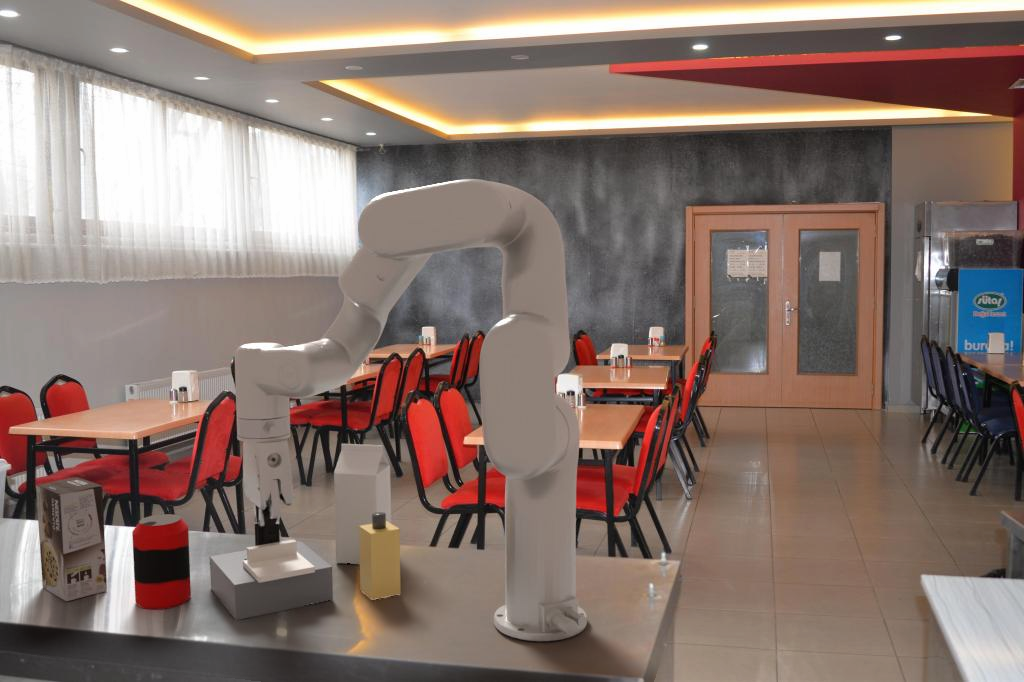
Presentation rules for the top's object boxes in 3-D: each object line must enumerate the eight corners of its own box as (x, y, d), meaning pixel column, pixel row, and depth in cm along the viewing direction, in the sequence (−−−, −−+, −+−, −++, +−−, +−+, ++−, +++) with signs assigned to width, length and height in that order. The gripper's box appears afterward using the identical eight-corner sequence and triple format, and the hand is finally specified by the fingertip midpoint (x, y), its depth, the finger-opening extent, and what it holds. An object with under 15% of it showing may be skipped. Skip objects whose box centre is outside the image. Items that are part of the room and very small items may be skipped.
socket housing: (332, 600, 136) (332, 566, 136) (235, 620, 129) (234, 584, 129) (301, 571, 148) (300, 541, 148) (210, 588, 141) (209, 556, 141)
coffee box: (109, 591, 140) (104, 485, 139) (65, 603, 136) (59, 493, 134) (83, 576, 147) (78, 475, 145) (40, 587, 142) (34, 483, 140)
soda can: (123, 606, 135) (119, 524, 133) (161, 588, 142) (158, 510, 140) (165, 613, 132) (162, 530, 131) (202, 594, 139) (199, 515, 138)
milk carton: (377, 566, 151) (375, 450, 149) (335, 563, 152) (333, 448, 150) (391, 552, 158) (390, 441, 156) (351, 550, 159) (349, 439, 157)
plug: (400, 595, 138) (399, 515, 137) (372, 601, 136) (370, 520, 135) (388, 585, 142) (386, 508, 141) (360, 591, 140) (358, 512, 139)
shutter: (314, 572, 133) (314, 553, 133) (258, 582, 129) (258, 563, 129) (296, 556, 140) (296, 538, 140) (242, 566, 136) (242, 547, 136)
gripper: (305, 433, 133) (308, 559, 135) (274, 417, 146) (277, 532, 147) (252, 439, 129) (256, 569, 131) (224, 422, 142) (229, 540, 144)
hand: (267, 549), depth 139 cm, fingers closed
